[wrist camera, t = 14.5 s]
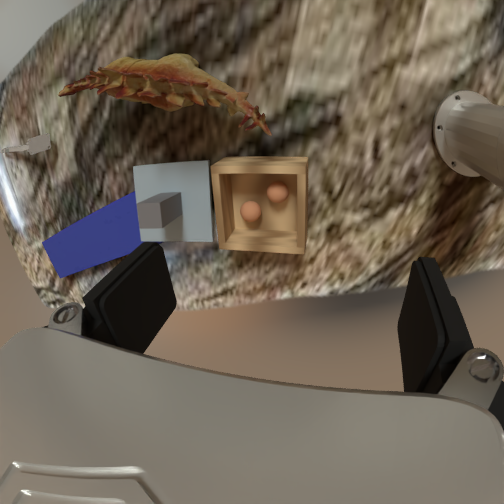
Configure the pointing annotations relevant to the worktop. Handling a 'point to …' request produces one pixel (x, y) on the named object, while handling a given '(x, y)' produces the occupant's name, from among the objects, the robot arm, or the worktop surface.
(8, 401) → the robot arm
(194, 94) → the toy
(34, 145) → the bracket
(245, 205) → the rust ball
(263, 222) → the pine box
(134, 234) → the long blue plank
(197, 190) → the lid
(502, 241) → the worktop surface
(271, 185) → the rust ball
